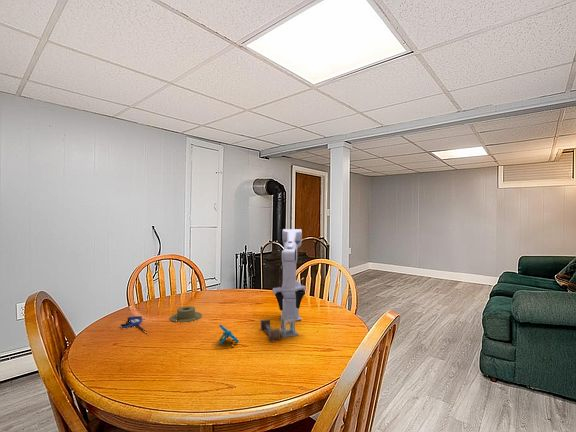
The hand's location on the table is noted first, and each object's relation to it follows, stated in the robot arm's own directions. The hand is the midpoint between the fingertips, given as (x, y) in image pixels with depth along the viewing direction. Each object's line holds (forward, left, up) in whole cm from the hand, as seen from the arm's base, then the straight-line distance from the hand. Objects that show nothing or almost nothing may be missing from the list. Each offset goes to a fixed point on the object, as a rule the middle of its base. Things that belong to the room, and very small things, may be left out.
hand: (289, 308), depth 129 cm
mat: (0, -1, -10) cm, 10 cm away
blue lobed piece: (0, -26, -11) cm, 28 cm away
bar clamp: (-26, -60, -11) cm, 66 cm away
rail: (-2, -8, -10) cm, 13 cm away
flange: (-37, -40, -11) cm, 56 cm away
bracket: (0, -1, -10) cm, 10 cm away
